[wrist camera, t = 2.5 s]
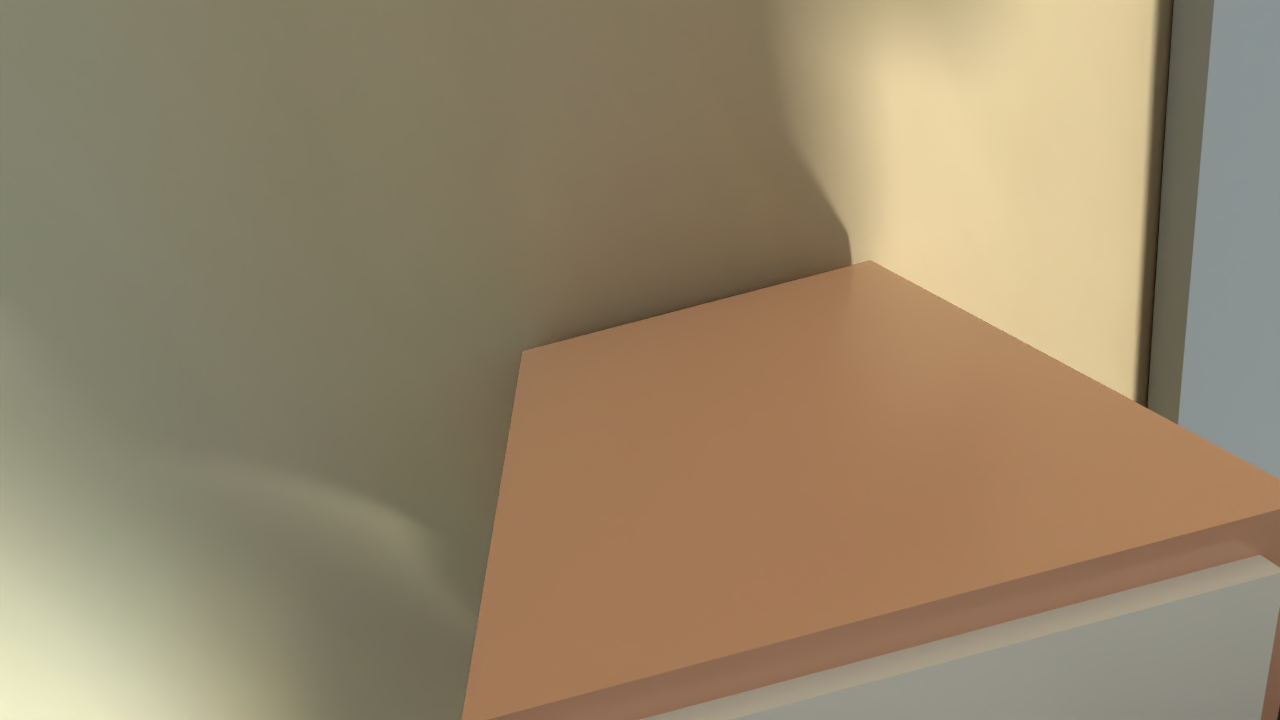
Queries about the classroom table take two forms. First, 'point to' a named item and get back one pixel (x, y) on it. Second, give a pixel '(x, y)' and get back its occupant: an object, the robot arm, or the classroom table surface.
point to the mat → (1221, 231)
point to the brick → (863, 528)
